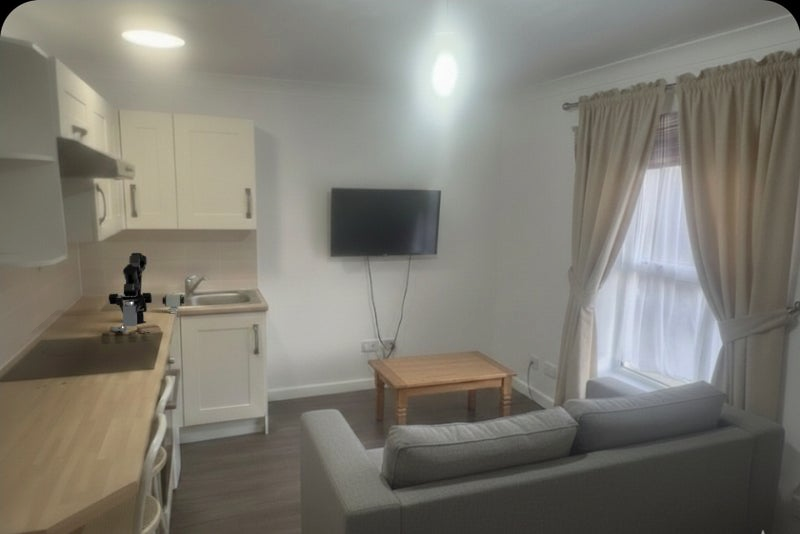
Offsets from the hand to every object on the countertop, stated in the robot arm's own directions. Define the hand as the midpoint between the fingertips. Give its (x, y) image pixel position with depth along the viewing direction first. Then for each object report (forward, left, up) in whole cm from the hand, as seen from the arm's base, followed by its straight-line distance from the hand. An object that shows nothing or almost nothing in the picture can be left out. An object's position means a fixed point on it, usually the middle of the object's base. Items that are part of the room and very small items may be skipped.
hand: (129, 312), depth 250 cm
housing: (-1, +1, -7) cm, 7 cm away
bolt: (-13, +2, -12) cm, 18 cm away
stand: (-2, +12, -12) cm, 17 cm away
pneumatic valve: (-27, +48, -12) cm, 56 cm away
